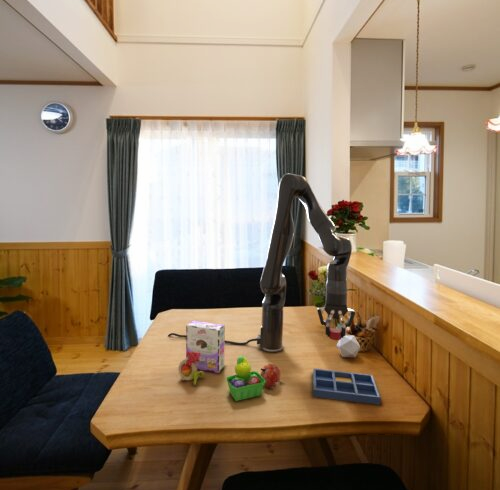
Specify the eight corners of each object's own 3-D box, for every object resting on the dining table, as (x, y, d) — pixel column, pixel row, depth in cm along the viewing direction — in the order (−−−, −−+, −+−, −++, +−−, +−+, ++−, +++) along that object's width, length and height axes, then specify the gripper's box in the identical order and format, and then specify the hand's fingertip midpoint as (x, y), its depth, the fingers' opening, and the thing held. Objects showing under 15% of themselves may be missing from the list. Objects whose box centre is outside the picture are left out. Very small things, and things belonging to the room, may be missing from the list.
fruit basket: (233, 404, 108) (234, 369, 108) (224, 389, 116) (224, 357, 116) (265, 396, 113) (266, 363, 112) (254, 383, 121) (255, 351, 120)
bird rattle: (179, 390, 119) (202, 385, 116) (168, 359, 119) (190, 353, 117) (188, 381, 125) (209, 375, 122) (177, 352, 125) (198, 345, 123)
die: (355, 364, 138) (366, 342, 140) (335, 351, 139) (347, 329, 142) (349, 362, 146) (360, 341, 148) (330, 350, 147) (341, 329, 150)
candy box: (224, 366, 132) (225, 324, 131) (218, 374, 126) (219, 330, 126) (192, 360, 137) (193, 319, 136) (185, 367, 131) (185, 324, 130)
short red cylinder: (329, 339, 125) (329, 332, 125) (328, 334, 130) (328, 327, 130) (341, 340, 125) (342, 333, 125) (340, 335, 129) (340, 328, 129)
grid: (313, 396, 114) (313, 389, 114) (313, 374, 128) (313, 368, 128) (380, 404, 110) (380, 397, 110) (372, 381, 124) (372, 374, 124)
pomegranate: (273, 383, 125) (252, 369, 123) (286, 368, 124) (265, 353, 123) (277, 398, 118) (254, 382, 116) (291, 382, 117) (268, 366, 115)
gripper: (355, 289, 129) (353, 334, 130) (316, 287, 131) (315, 331, 132) (358, 294, 121) (356, 342, 122) (316, 292, 124) (315, 339, 125)
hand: (335, 336), depth 127 cm, fingers closed on short red cylinder, 4 cm apart
